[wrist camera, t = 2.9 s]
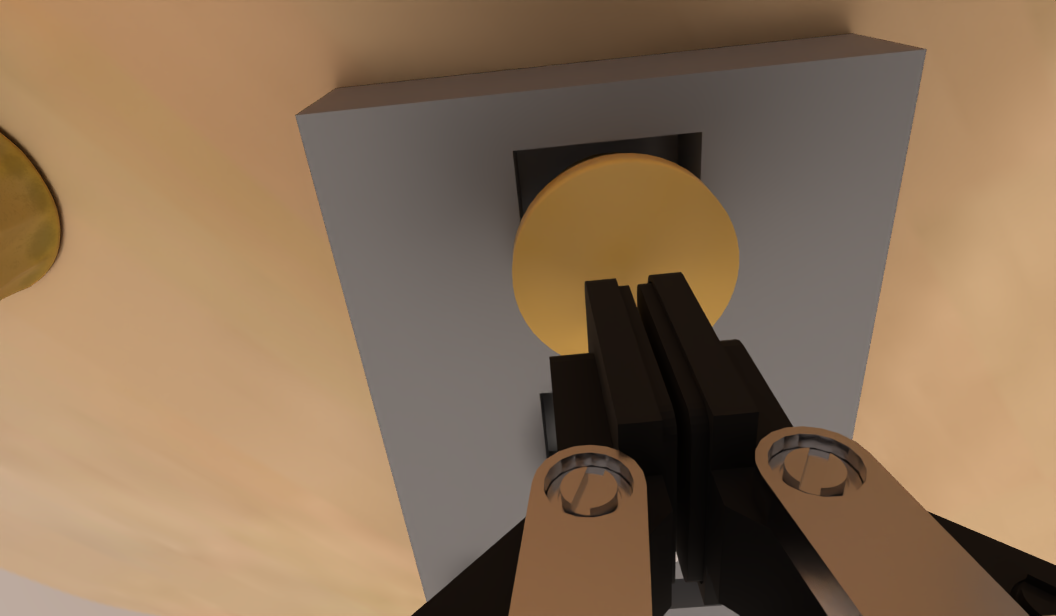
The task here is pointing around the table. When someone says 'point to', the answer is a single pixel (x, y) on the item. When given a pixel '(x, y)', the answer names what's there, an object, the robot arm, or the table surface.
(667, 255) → the amber button
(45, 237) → the vase
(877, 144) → the panel
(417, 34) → the table surface
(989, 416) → the table surface
